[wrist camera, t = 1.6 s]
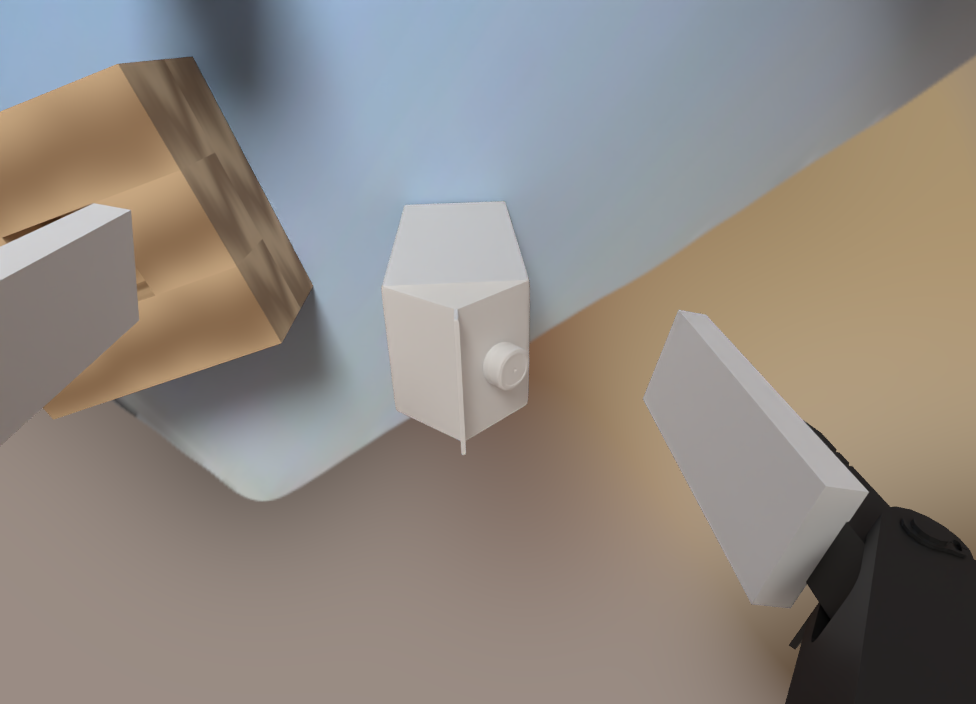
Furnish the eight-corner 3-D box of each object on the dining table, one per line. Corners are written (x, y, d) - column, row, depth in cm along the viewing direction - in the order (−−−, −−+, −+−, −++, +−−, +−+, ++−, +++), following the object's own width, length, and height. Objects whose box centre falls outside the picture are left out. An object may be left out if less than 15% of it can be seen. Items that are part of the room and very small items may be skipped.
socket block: (-31, 145, 37) (-160, 176, 29) (192, 56, 35) (118, 64, 27) (123, 351, 45) (53, 419, 37) (313, 286, 43) (281, 343, 35)
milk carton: (412, 297, 44) (388, 459, 27) (403, 203, 40) (369, 323, 24) (506, 293, 44) (538, 451, 27) (505, 199, 41) (541, 316, 24)
